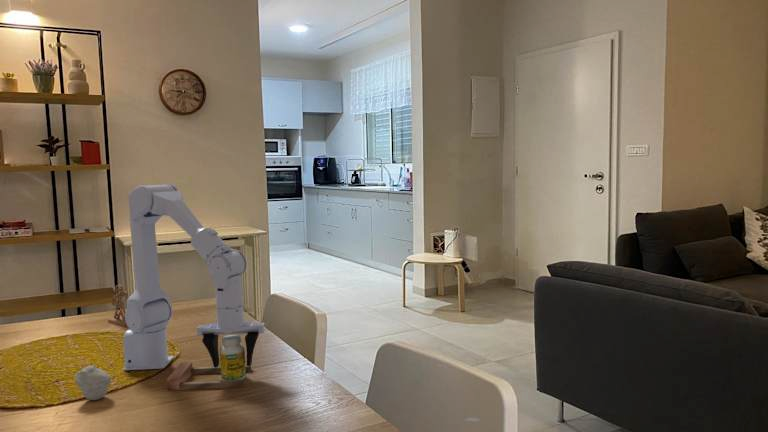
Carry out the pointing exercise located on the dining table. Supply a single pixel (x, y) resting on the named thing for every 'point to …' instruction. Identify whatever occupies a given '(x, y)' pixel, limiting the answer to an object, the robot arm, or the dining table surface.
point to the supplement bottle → (232, 358)
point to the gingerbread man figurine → (118, 319)
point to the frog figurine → (93, 382)
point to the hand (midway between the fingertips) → (233, 365)
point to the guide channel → (185, 370)
